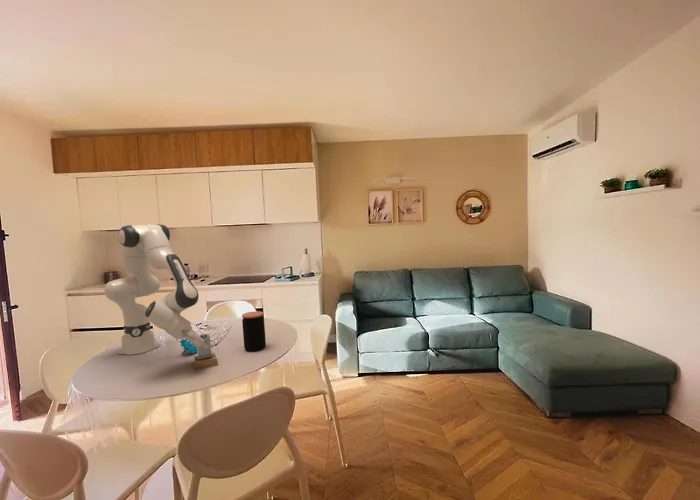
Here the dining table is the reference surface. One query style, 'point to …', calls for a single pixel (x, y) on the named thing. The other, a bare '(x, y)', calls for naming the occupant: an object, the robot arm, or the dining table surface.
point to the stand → (205, 362)
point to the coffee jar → (253, 331)
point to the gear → (188, 346)
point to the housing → (203, 351)
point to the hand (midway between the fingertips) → (205, 345)
